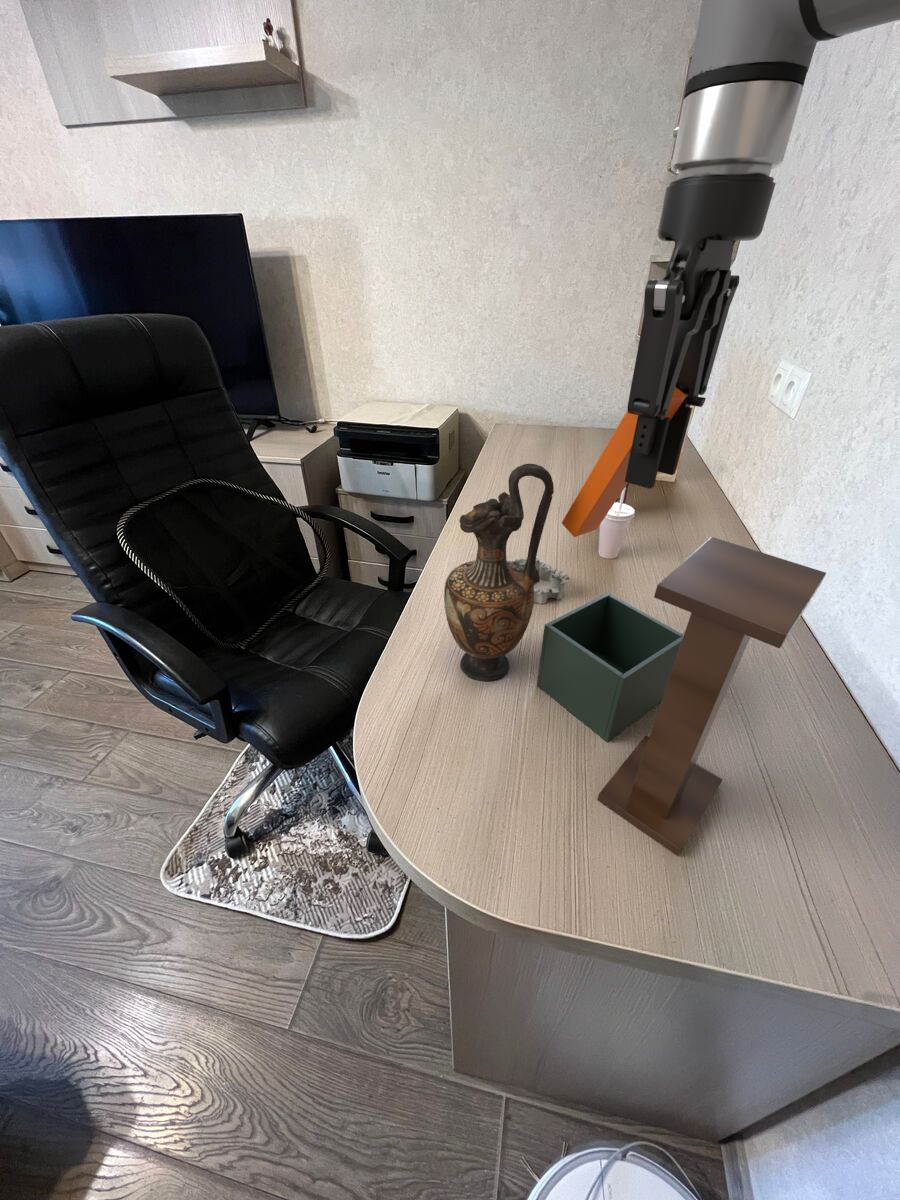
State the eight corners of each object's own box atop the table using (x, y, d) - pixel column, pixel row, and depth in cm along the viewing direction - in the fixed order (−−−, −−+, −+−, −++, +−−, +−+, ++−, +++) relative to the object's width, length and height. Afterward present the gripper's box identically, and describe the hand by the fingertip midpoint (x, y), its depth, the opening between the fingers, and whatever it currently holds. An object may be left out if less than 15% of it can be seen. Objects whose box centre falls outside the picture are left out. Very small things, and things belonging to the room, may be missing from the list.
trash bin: (666, 698, 67) (688, 637, 61) (607, 742, 61) (624, 679, 55) (595, 650, 75) (607, 592, 69) (536, 685, 69) (544, 624, 63)
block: (641, 384, 46) (661, 400, 45) (668, 380, 48) (687, 395, 47) (561, 523, 60) (574, 537, 59) (583, 515, 62) (597, 529, 61)
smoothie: (611, 565, 95) (626, 496, 87) (584, 553, 99) (596, 485, 91) (631, 555, 98) (647, 487, 90) (604, 543, 102) (617, 477, 94)
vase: (451, 636, 78) (452, 443, 60) (532, 645, 76) (556, 449, 59) (438, 690, 68) (434, 479, 51) (530, 701, 66) (557, 487, 49)
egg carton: (569, 598, 86) (573, 578, 84) (531, 608, 84) (533, 587, 82) (538, 568, 94) (540, 549, 92) (502, 576, 92) (504, 557, 90)
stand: (643, 741, 61) (711, 536, 45) (719, 786, 56) (826, 572, 40) (597, 800, 54) (657, 584, 38) (678, 856, 49) (786, 635, 33)
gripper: (713, 188, 44) (653, 449, 58) (618, 169, 34) (571, 491, 48) (809, 181, 40) (720, 464, 54) (732, 158, 30) (646, 515, 43)
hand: (650, 476), depth 51 cm, fingers closed on block, 4 cm apart
